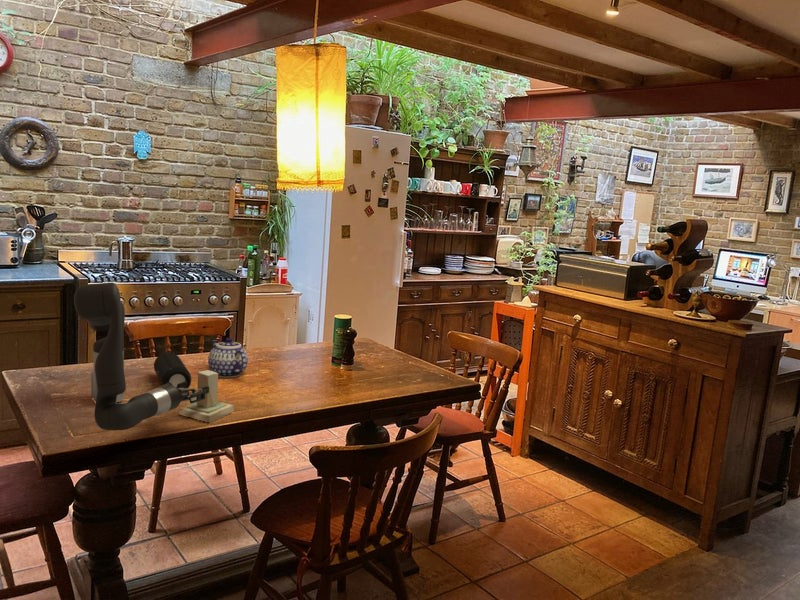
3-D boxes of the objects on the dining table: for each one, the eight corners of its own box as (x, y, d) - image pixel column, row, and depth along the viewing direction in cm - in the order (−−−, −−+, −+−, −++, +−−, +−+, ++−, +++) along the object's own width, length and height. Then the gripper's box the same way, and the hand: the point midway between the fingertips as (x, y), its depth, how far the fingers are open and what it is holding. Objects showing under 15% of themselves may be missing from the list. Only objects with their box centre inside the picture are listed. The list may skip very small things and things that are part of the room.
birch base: (179, 415, 206) (179, 406, 205) (204, 405, 217) (204, 396, 216) (209, 423, 201) (209, 414, 201) (233, 412, 212) (233, 403, 212)
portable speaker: (152, 376, 243) (153, 351, 241) (180, 375, 248) (180, 349, 246) (162, 398, 221) (163, 370, 219) (192, 395, 226) (193, 368, 224)
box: (196, 404, 208) (196, 371, 206) (206, 401, 211) (207, 369, 210) (207, 408, 205) (208, 375, 203) (217, 405, 209) (218, 372, 207)
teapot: (260, 380, 248) (261, 343, 246) (223, 385, 239) (225, 347, 236) (230, 363, 267) (232, 329, 264) (196, 368, 257) (197, 332, 255)
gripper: (179, 392, 185) (216, 379, 199) (141, 383, 190) (179, 371, 205) (179, 417, 186) (215, 402, 201) (141, 408, 191) (179, 394, 206)
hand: (197, 386), depth 203 cm, fingers open, 8 cm apart
